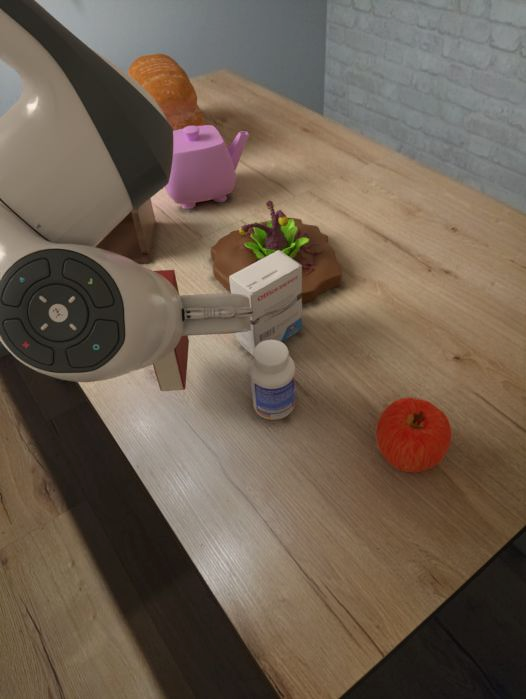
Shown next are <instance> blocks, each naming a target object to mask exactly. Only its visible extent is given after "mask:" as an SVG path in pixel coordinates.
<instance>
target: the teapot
mask: <svg viewBox="0 0 526 699" xmlns="http://www.w3.org/2000/svg"><path fill="white" fill-rule="evenodd" d="M249 135H250V134H249V133H248V131H247V130H246V131H238V133H237V135H236V136H235V137H234V139H233V140H232V142H231V143H230V145H229V146H227V144H226V142H225V140H224V138H223V136H222V135H221V133H220V131H219V130H218V129H217V128H216V126H214V125H212V124H206V125H203V126H187V127H185V128H184V129H179V130H175V131H173V160H172V168H171V174H170V179H169V183H168V184H167V185H166V186H165V187H164V189H165V190H166V192H167V194H168V195H169V197H170V198H171V200H172V201H173V202H174V203H175V204H179V205H180V204H181V208H182V209H184V210H189V209H193V208H194V207H195V206H196V203H200V202H201V203H202V202H206V201H211V200H213V201H215V202H218V203H223V202H225V201H226V200H227V199H228V197H227V195H229V194H231V193H232V192H233V191H234V189H235V187H236V184H237V176H236V171H237V168H238V165H239V162H240V160H241V157H242V154H243V152H244V149H245V146H246V144H247V141H248V139H249Z"/></svg>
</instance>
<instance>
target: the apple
mask: <svg viewBox="0 0 526 699" xmlns="http://www.w3.org/2000/svg"><path fill="white" fill-rule="evenodd" d="M452 434H453V433H452V427H451V423H450V421H449V419H448V417H447V415H446V414H445V413H444V412H443V410H442V409H440V408H438V407H437V406H436V405H435V404H433V403H431V402H430V401H428V400H425V399H421V398H415V397H404V398H399V399H396V400H395V401H393V402H391V403H390V404H389V405H388V406H386V407H385V408H384V410H383V411H382V413H381V414H380V416H379V417H378V420H377V423H376V426H375V439H376V440H375V441H376V445H377V447H378V450H379V453H380V454H381V455H382V457H383V458H384V459H385V460H386V462H387V463H388V464H389V465H390V466H392V467H393V468H394V469H396V470H399V471H401V472H406V473H420V472H424V471H428V470H430V469H432V468H434V467H436V466H437V465H438V464H440V463H441V462H442V461H443V459H444V458H445V457H446V455H447V453H448V451H449V448H450V446H451V443H452V437H453V436H452Z"/></svg>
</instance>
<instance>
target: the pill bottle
mask: <svg viewBox="0 0 526 699" xmlns="http://www.w3.org/2000/svg"><path fill="white" fill-rule="evenodd" d="M253 355H254V356H253ZM253 355H252V356H253V358H252V359H251V361H250V363H249V367H248V372H249V382H250V390H251V399H252V406H253V409H254V411H255V412H256V413H257V415H259V416H260V417H261V418H263V419H266V420H271V421H274V420H282V419H284V418H286V417H288V416H289V415H290V414H292V412H293V410H294V409H295V406H296V364H295V362H294V360H293V358H292V357H291V356H290V353H289V349H288V346H287V345H286V344H285V343H284V342H280V341H277V340H266V341H263V342H261V343H259V344H258V345H257V346H256V347H255V349H254V353H253Z"/></svg>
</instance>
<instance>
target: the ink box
mask: <svg viewBox="0 0 526 699" xmlns="http://www.w3.org/2000/svg"><path fill="white" fill-rule="evenodd" d="M229 281H230V289H231V294H241V295H245V296H247V297H248V298H249V301H250V307H251V308H252V311H253V314H252V316H251V329H250V330H249V331H247V332H240V333H235V339H236V341H237V342H238V343H239V344H240V345H241V346H242V347H243V348H244V350H246V351H247V352H248V353H249V354H250V355H252V357H254V355H253V353H254V349H255V347H256V346H257V345H258V344H259V343H261V342H263V341H266V340H277V341H280V342H282V343H284V341H286V340H288V339H290V337H292V336H294V335H295V334H297V333H298V332H300V331H301V330H302V317H303V315H302V312H303V310H302V308H303V304H302V265H300V264H299V263H298V262H296V261H295V260H293V259H292V258H290V257H289V256H287V255H286V254H284V253H283V252H281V251H280V250H277V251H276V252H274V253H272V254H270V255H268V256H267V257H265V258H263V259H261V260H259V261H257V262H255V263H253V264H252V265H250V266H248V267H246V268H244V269H242V270H240V271H238V272H236V273H234V274H232V275H231V276H229Z"/></svg>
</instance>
